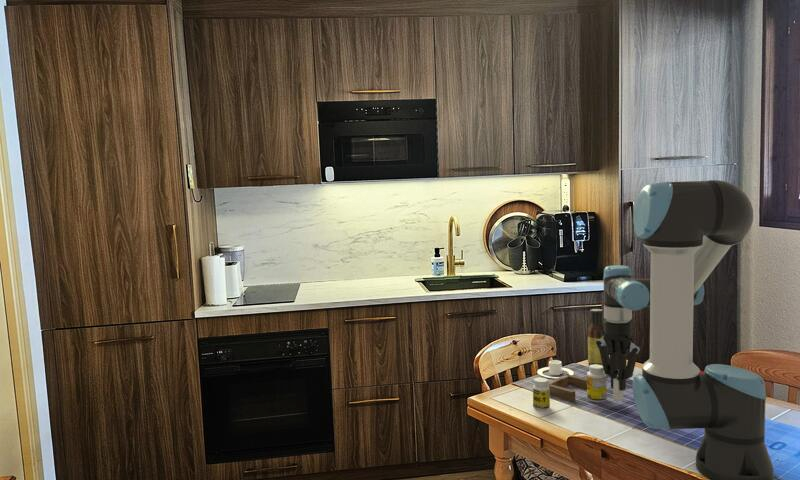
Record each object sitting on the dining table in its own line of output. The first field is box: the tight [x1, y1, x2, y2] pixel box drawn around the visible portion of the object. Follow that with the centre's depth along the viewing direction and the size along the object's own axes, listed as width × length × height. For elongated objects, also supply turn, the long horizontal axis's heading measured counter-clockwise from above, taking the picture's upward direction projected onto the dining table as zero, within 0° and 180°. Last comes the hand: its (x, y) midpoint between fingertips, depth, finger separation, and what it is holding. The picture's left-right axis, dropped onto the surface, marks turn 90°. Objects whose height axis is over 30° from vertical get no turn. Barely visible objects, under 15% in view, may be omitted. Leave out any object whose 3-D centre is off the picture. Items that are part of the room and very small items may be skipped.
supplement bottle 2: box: [586, 364, 608, 403], centre depth 181 cm, size 6×6×10 cm
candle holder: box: [536, 359, 575, 379], centre depth 206 cm, size 12×12×4 cm
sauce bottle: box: [587, 308, 608, 367], centre depth 211 cm, size 7×6×20 cm
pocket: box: [548, 373, 587, 403], centre depth 188 cm, size 13×10×3 cm
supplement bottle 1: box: [532, 377, 551, 411], centre depth 176 cm, size 5×5×8 cm
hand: (618, 400), depth 176 cm, fingers closed
